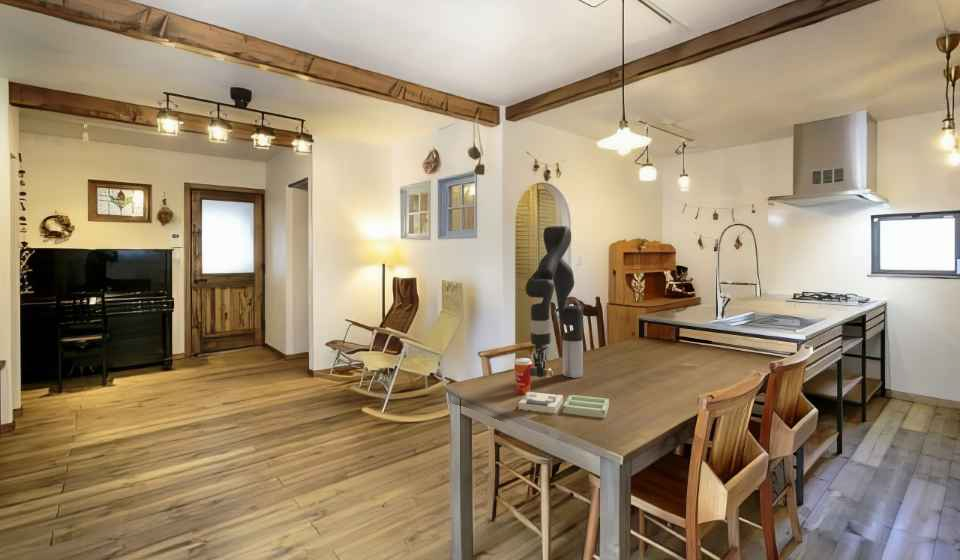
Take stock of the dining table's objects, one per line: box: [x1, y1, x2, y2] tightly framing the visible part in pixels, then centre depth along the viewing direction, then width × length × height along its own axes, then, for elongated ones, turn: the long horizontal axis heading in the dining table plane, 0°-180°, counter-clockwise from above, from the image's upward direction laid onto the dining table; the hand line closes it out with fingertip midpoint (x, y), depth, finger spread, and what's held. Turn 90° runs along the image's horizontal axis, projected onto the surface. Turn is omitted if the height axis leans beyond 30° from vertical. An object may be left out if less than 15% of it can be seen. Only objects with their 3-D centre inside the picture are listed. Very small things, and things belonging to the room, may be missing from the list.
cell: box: [530, 366, 554, 379], centre depth 174 cm, size 3×9×3 cm, turn 68°
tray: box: [562, 394, 610, 419], centre depth 170 cm, size 14×15×3 cm
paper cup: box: [513, 357, 533, 395], centre depth 191 cm, size 8×8×14 cm
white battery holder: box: [518, 391, 564, 414], centre depth 175 cm, size 14×14×4 cm
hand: (541, 375), depth 175 cm, fingers closed on cell, 3 cm apart
